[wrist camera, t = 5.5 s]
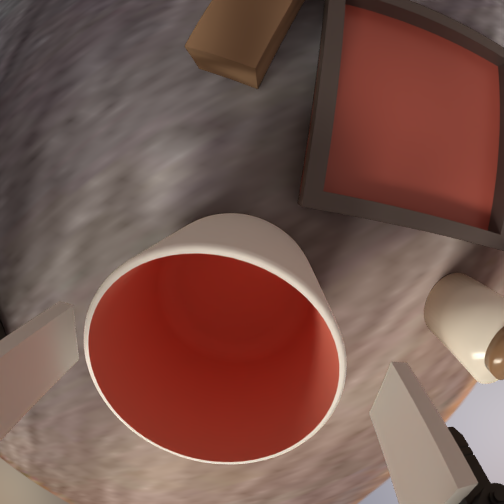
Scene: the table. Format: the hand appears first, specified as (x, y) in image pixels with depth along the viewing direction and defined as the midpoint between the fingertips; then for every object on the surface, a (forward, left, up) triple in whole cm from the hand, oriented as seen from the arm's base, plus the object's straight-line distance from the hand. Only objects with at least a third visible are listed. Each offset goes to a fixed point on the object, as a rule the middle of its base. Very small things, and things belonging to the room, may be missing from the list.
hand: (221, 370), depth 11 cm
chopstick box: (-1, +18, -9) cm, 20 cm away
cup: (0, 0, -9) cm, 9 cm away
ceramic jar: (+16, +1, -9) cm, 18 cm away
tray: (+10, +14, -9) cm, 19 cm away
